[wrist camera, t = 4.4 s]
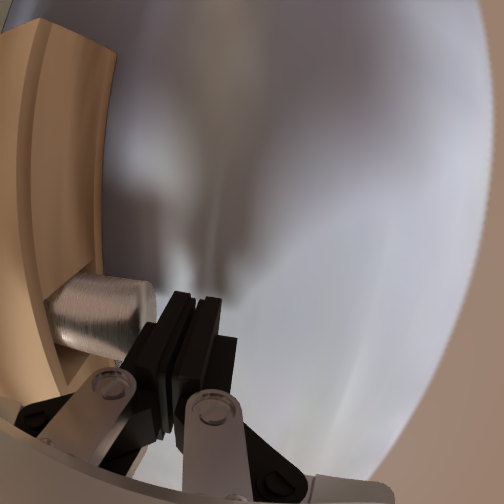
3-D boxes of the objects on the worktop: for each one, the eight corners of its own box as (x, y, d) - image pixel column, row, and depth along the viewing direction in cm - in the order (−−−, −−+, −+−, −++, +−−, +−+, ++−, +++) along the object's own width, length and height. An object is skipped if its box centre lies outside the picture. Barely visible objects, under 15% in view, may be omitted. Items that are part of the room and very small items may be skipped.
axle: (155, 270, 11) (124, 300, 8) (157, 339, 12) (132, 380, 9) (-40, 242, 11) (-74, 253, 8) (-34, 288, 12) (-64, 304, 9)
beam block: (117, 53, 8) (40, 17, 4) (129, 425, 15) (106, 483, 11) (16, 73, 8) (-58, 67, 4) (54, 398, 15) (25, 445, 11)
